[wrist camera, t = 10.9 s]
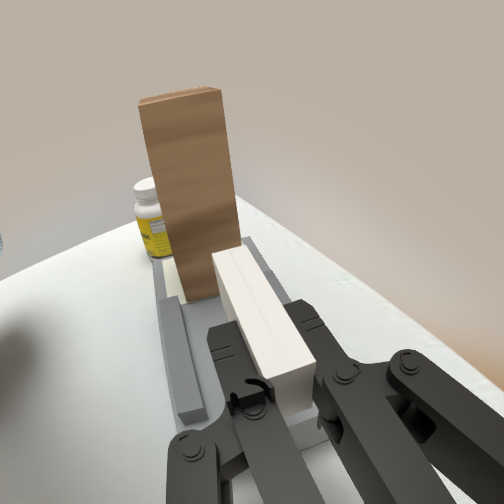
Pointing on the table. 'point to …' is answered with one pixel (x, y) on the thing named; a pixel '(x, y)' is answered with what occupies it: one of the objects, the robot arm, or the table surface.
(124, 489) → the table surface
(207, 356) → the grey stand base
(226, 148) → the block
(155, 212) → the supplement bottle
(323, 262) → the table surface
